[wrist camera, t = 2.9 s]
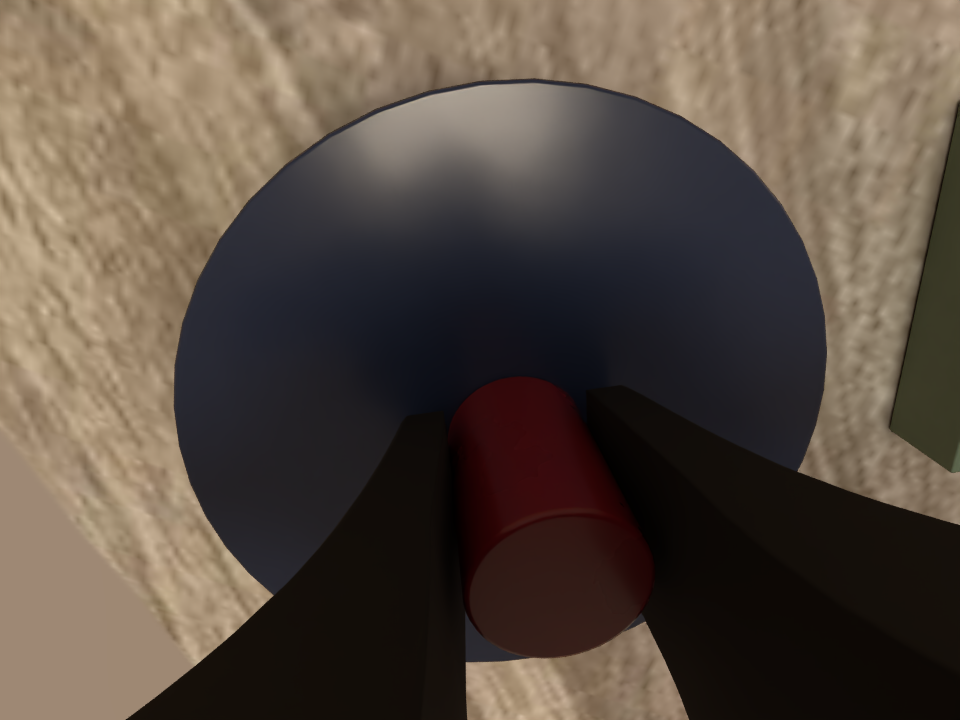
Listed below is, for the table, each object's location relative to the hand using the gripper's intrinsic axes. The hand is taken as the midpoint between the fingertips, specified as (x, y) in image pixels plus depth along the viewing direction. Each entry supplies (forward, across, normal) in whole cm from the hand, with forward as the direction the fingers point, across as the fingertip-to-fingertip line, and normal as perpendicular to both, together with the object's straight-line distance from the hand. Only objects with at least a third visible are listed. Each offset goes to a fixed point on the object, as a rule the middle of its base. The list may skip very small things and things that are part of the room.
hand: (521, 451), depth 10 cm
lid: (+1, 0, 0) cm, 1 cm away
